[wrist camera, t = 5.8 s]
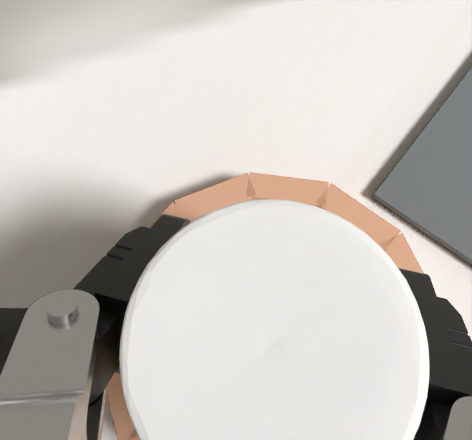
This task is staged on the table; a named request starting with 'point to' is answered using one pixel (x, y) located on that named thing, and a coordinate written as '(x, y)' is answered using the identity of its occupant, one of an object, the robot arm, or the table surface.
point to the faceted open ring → (275, 189)
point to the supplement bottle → (273, 332)
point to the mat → (438, 176)
